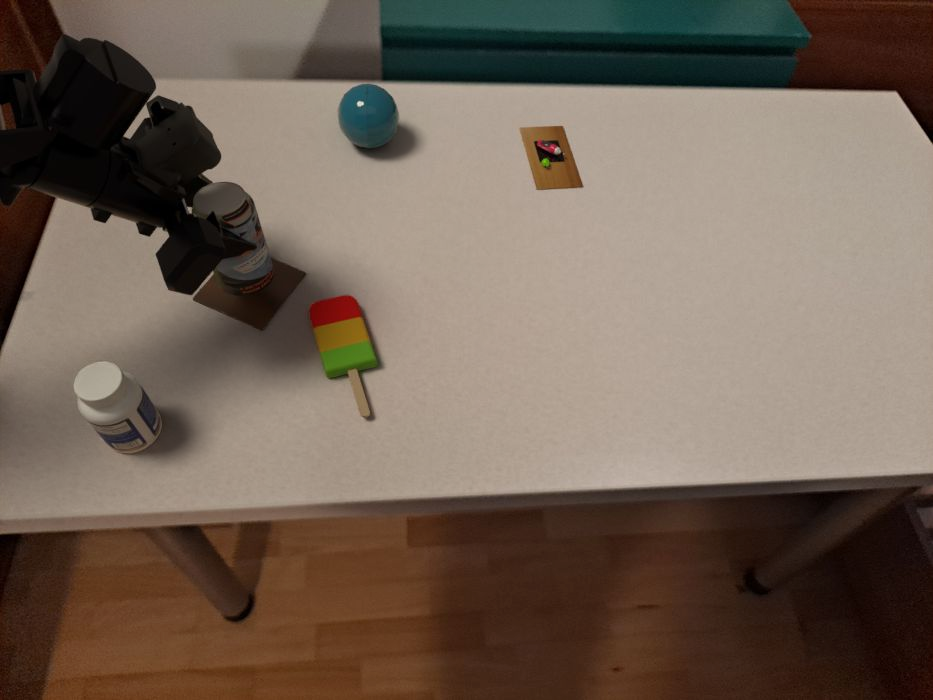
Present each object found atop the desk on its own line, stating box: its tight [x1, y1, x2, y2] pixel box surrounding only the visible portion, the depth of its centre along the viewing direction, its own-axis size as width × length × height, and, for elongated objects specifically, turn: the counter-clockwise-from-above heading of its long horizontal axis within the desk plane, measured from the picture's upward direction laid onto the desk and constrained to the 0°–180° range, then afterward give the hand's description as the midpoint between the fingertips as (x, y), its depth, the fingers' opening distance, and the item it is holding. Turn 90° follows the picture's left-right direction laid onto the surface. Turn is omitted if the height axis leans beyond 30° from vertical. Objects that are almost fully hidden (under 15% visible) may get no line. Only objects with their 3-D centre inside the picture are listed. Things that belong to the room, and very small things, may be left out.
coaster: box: [192, 256, 307, 332], centre depth 78 cm, size 9×9×1 cm
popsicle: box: [308, 294, 378, 418], centre depth 73 cm, size 6×15×2 cm, turn 19°
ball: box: [337, 83, 400, 149], centre depth 89 cm, size 8×8×8 cm
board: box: [519, 125, 584, 191], centre depth 93 cm, size 6×12×2 cm, turn 9°
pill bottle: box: [73, 361, 163, 454], centre depth 63 cm, size 5×5×10 cm
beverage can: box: [191, 181, 274, 296], centre depth 70 cm, size 6×7×12 cm
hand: (245, 228), depth 71 cm, fingers closed on beverage can, 6 cm apart
